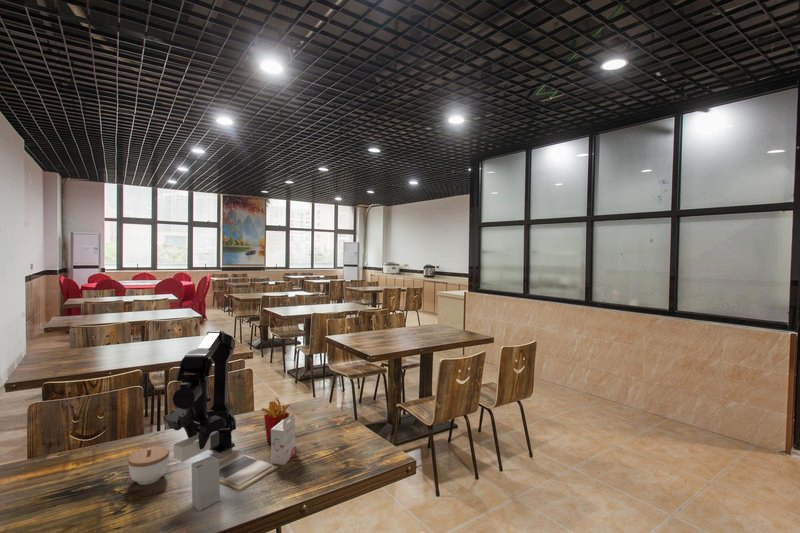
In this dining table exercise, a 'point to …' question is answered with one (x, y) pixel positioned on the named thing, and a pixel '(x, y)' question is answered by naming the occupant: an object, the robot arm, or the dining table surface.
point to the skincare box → (205, 482)
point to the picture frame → (242, 470)
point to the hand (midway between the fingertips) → (197, 446)
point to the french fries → (274, 416)
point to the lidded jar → (148, 464)
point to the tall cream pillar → (194, 446)
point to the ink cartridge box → (283, 441)
